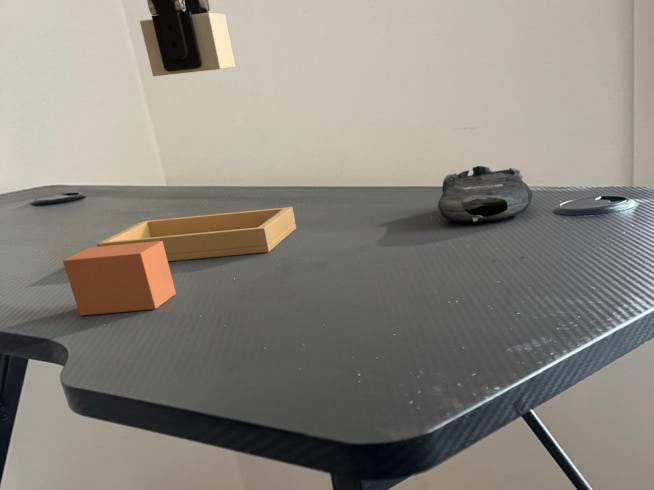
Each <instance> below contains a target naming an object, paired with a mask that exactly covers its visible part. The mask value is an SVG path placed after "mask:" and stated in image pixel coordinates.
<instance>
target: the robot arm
mask: <svg viewBox="0 0 654 490" xmlns="http://www.w3.org/2000/svg"><path fill="white" fill-rule="evenodd" d="M146 3H147V8H148V11H149V13H150V15H151V19H152V20H153V24H154V28H155V33H156V37H157V41H158V45H159V50H160V54H161V58H162V62H163V67H164V69H165V70H166V71H168V72H170V71H179V70H189V69H198V68H200V67H201V66H202V62H201V57H200V52H199V48H198V43H197V39H196V34H195V29H194V25H193V20H192V15H195V14H204V13H211V6H210V2H209V0H146Z"/></svg>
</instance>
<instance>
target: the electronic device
mask: <svg viewBox="0 0 654 490" xmlns="http://www.w3.org/2000/svg"><path fill="white" fill-rule="evenodd" d="M469 173H470V170H469V169H468V170H463V171H461V172H459V173H458V174H457V173H451V174H450V173H449V174H447V175H446V176H445V177H444V179H443V181H442V186H441V187H442V189H441V191H442V195H441V196H440V197H439V200H438V201H437V207H438V209H439V211H440V214H441V216H442V217H443V218H445V219H447V220H450V221H453V222H455V223H468V224H474V223H484V222H493V221H497V220H498V221H504V220H506V219H507V218H510V217H514V216H517V215H520V214H523V213H524V212H526V211H527V210H528V208H529V206H530V205H531V203H532V199H533V192H532V190H531V188H530V187H529V185H528V184H527V183H526V182H524V181H523V180H522V179H523V177H524V176H523V175H522V174H521V170H520V169H517V168H513V167H509V169H502V170H494V171H492V170H491V169H490V167H488V166H482V165H477V166H472V174H471V175H469ZM473 196H475V197H477V196H478V197H479V196H480V197H483V198H474V199H472V200H469V201H464V200H466V199H467V198H470V197H473Z"/></svg>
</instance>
